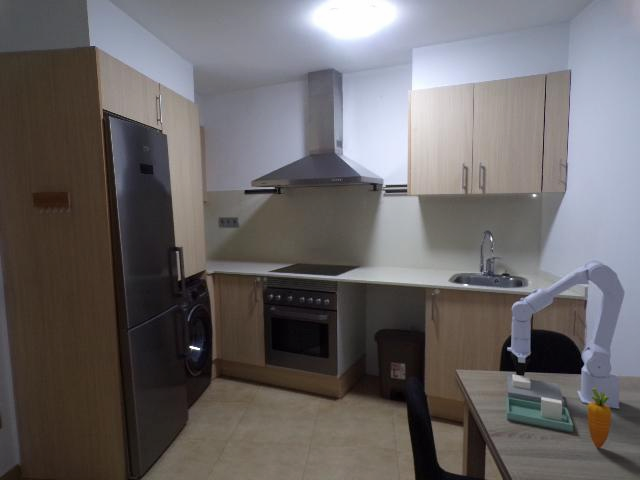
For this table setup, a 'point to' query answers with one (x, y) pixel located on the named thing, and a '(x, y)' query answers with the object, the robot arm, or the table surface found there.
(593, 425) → the carrot
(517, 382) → the tile
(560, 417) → the tile
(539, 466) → the table surface
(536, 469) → the table surface
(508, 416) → the box
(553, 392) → the board
